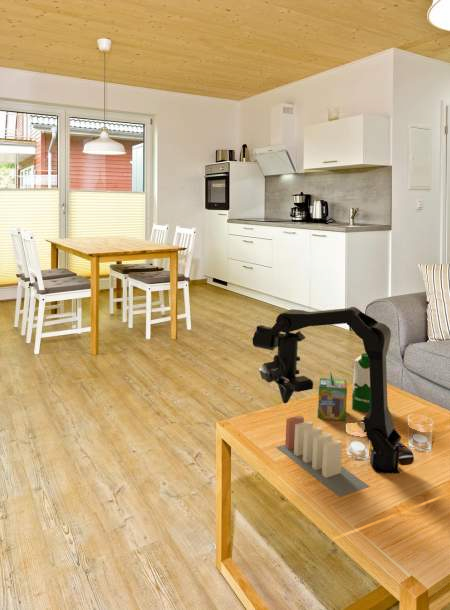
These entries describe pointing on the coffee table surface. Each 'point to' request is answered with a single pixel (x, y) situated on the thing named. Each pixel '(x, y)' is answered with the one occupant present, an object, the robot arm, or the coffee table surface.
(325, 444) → the domino
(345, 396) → the juice carton
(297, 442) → the domino
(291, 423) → the domino
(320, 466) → the domino
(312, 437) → the domino
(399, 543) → the coffee table surface
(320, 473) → the mat
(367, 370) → the milk carton
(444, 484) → the coffee table surface
